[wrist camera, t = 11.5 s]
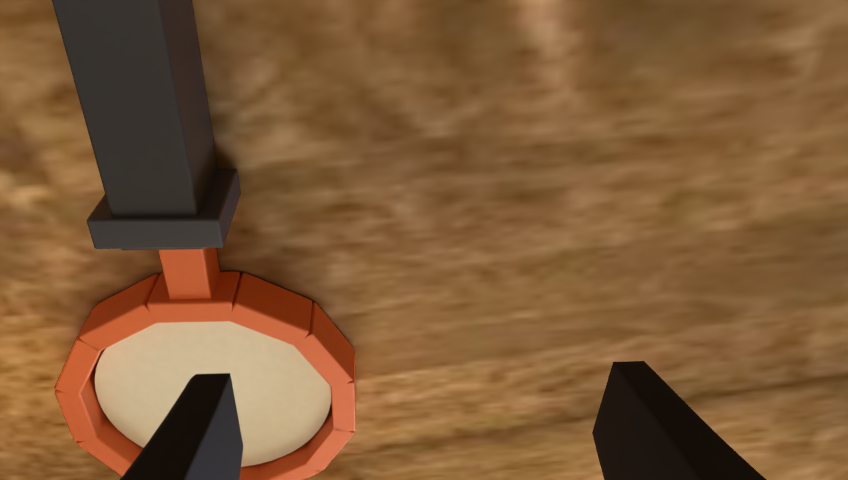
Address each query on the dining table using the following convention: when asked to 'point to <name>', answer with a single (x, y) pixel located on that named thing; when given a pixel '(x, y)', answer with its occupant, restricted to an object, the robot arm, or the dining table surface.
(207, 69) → the dining table surface
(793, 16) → the dining table surface
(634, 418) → the robot arm
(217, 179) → the racket
